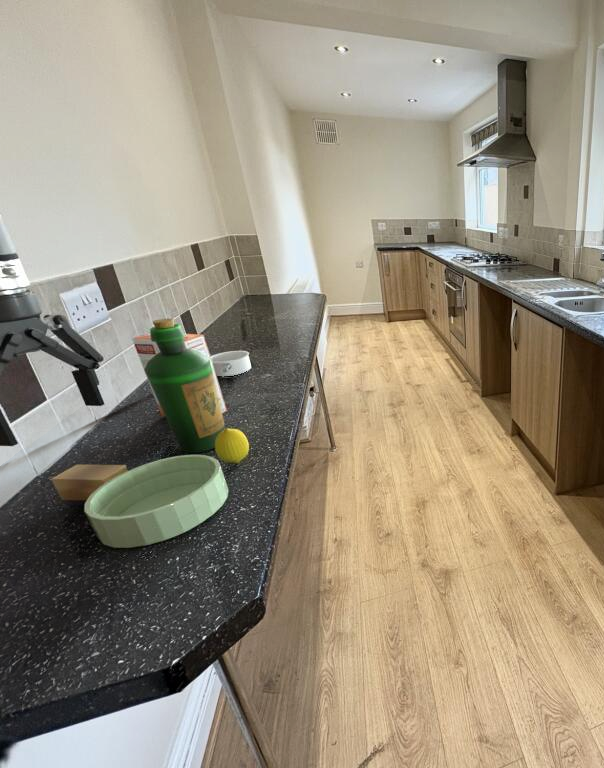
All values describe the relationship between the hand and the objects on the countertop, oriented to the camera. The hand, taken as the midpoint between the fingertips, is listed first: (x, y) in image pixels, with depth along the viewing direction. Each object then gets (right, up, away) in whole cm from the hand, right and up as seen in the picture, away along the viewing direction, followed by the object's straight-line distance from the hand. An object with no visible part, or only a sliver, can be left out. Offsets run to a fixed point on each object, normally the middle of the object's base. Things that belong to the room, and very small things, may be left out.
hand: (55, 423), depth 67 cm
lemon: (+18, -10, +17) cm, 27 cm away
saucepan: (-13, +8, +62) cm, 64 cm away
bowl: (+16, -16, +3) cm, 22 cm away
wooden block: (+1, -14, +7) cm, 16 cm away
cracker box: (-6, -2, +37) cm, 38 cm away
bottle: (+6, -7, +24) cm, 26 cm away
